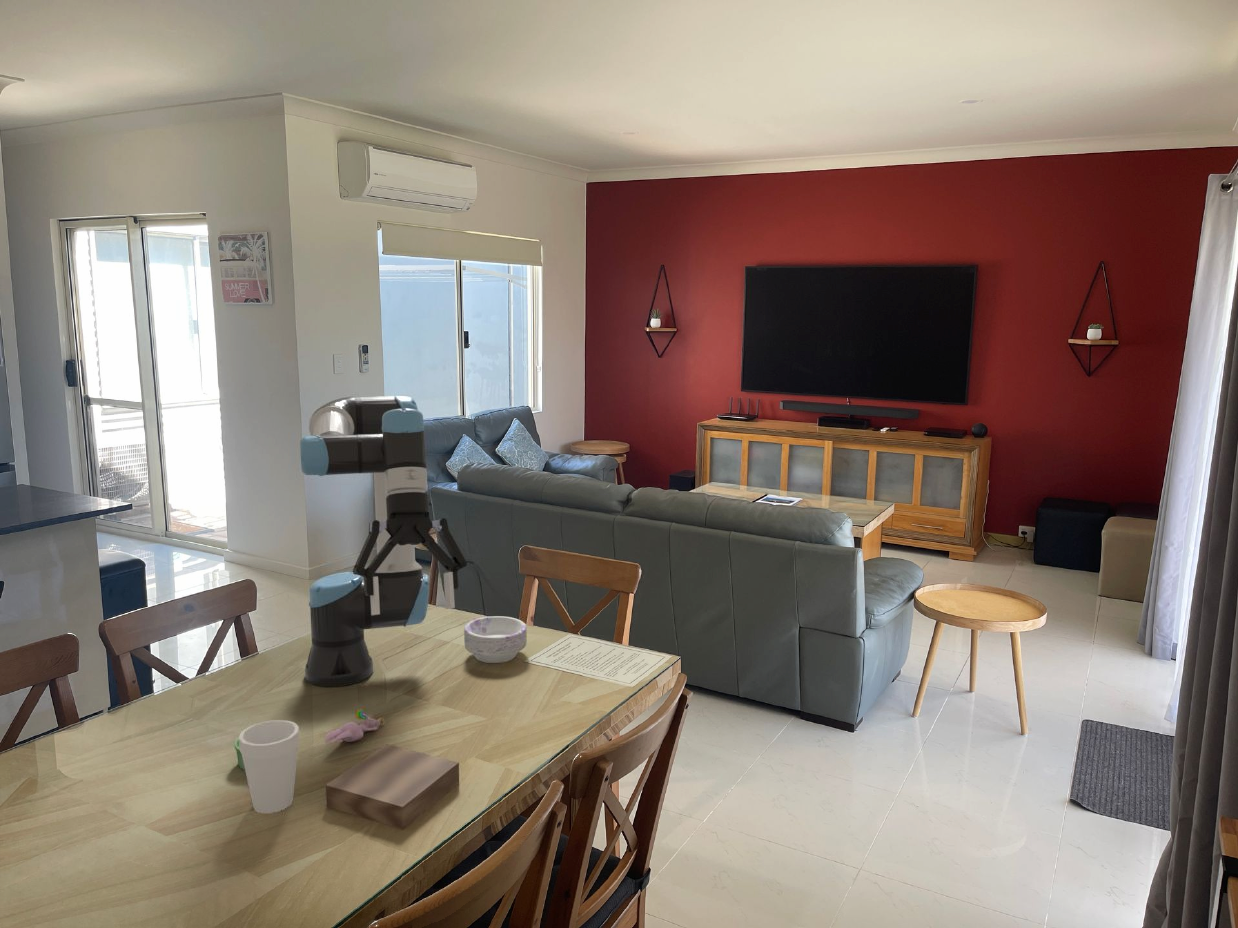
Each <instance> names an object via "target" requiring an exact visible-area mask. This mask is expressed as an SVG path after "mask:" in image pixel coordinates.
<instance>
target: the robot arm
mask: <svg viewBox="0 0 1238 928" xmlns="http://www.w3.org/2000/svg"><path fill="white" fill-rule="evenodd" d="M425 427H426V426H425V423H424V415H423V413H422V412H421V411H420V410H419V409H418V405H417V403H416V401H415V399H414V398H412V397H410V396H404V395H403V396H402V395H381V396H378V395H377V396H346V397H340V398H337V399H334V400H332V401H329V402H327V403H325V404H323V405H322V406H319V408H317V409H316V410H315V411H314V412H313V413H312V415H311V417H310V419H309V425H308V430H309V435H306V436H303V437H301V439H300V440H299V441H300V442H299V449H300V450H299V451H300V453H299V454H300V468H301V472H302V473H303V474H304V475H305V476H319V477H324V476H331V475H334V476H335V475H350V474H351V475H352V474H354V475H355V474H373V486H374V487H373V488H374V506H375V507H374V510H375V511H374V512H375V520H372V521H370V522H369V524H368V525H369V526H368V535H367V537H366V539H365V542H364V544H363V546H362V548H361V551H360V552H359V555H358V557H357V560H356V562H355V565H354V566H353V568H352V572H351V571H345V572H343V571H342V572H337V573H332V574H329V575H325V576H323V577H321V578H319V579H318V580H316V581H315V582H313V583H312V584H311V586H310V589H309V602H308V606H309V608H310V609H309V610H310V612H309V615H310V633H311V635H310V636H311V646H310V649H309V650H310V651H309V653H308V656H307V661H306V664H305V667H304V676H305V677H304V678H305V680H306V681H307V682H308V683H309V684H312V685H315V686H319V687H343V686H348V685H352V684H356V683H359V682H362V681H364V680H366V679H368V678H369V677H371V675H372V674H373V672H374V662H373V658H372V656H371V655H370V652H369V649H368V645H367V643H366V641H365V630H372V629H373V630H374V629H382V628H385V629H386V628H393V627H405V628H406V627H407V626H412V625H420V624H421V623H422V622H423V621H424V620H425V619H426V616H427V611H428V606H429V596H430V577H429V575H428V573H427V574H426V573H423V568H422V567H423V566H421V565H420V563H418V562H417V561H416V557H415V556H416V554H415V553H416V551H415V546H417V545H420V544H421V545H422V546H423V547H425V548H426V549H427V550H428V551H429V553H431V555H432V556H433V557H435V559H436V561H438V562H439V563H440V565H441V566H442V567H443V568H444V569H445V570H446V571H447V572H443V585H444V601H445V602H444V603H445V604H444V605H445V609H446V610H447V609H449V610H450V609H455V608H456V606H455V605H456V604H455V590H458V588H459V579H458V578H459V577H458V572H459V570H461V569H464V568H465V567H467V565H468V562H467V561H466V558H465V557H464V555H463V553H462V551H461V550H460V548H459V546H458V545H457V542H456V541H455V539H454V537H453V536H452V533H451V532H450V530H449V525H448V520H447V518H445V517H443V518H440V519H438V520H437V519H436V520H432V519H431V517H430V504H429V503H430V501H429V494H428V493H426V492H427V491H428V489H429V487H428V472H427V471H428V470H427V463H426V462H427V461H426V460H427V458H426V439H425V438H426V437H425V434H426V433H425V430H426V428H425ZM432 528H433V529H434V530H435V532H437V533H438V535H439V538H440V539H441V541H442V543H443V544H444V547H445V548H446V551H447V552H448V554H449V555H448V554H447V553H446V552H445V551H444V549H442V548H441V546H440V545H439V544H438V543H437V542H436V541H435V539H434V538H433V536H432V535H431V534H430V531H431V530H432ZM375 544H376V545H375ZM375 546H376V555H375V557H374V558H373V560H372V561H371V562H370V563H369V565H368V566H367V567H366V565H367V563H368V560H369V558H370V556H371V554H372V551H373V549H374V547H375ZM365 567H366V568H365Z"/></svg>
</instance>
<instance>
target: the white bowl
mask: <svg viewBox="0 0 1238 928" xmlns="http://www.w3.org/2000/svg"><path fill="white" fill-rule="evenodd" d="M527 628H528V627H527V624H526V623H525V622H524V621H522V620H520V619H518V618H516V617H515V618H514V617H511V616H503V615H502V616H501V615H498V616H497V615H494V616H484V617H478V618H476V619H473V620H471V621H469V622H468V623H466V624H465V626H464V629H463V633H464V648H465V650H466V651H467V652H469V653H471V654H472V655H473V656H474V657H475V659H476V660H477V661H480V662H483V663H487V664H502V663H506V662H509V661H511V660H513V659H515V657H517V656H518V653H519V652H520V651H522V650H523V649H525V647H526V645H527V642H528V641H527V633H528V632H527V631H528V630H527Z"/></svg>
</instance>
